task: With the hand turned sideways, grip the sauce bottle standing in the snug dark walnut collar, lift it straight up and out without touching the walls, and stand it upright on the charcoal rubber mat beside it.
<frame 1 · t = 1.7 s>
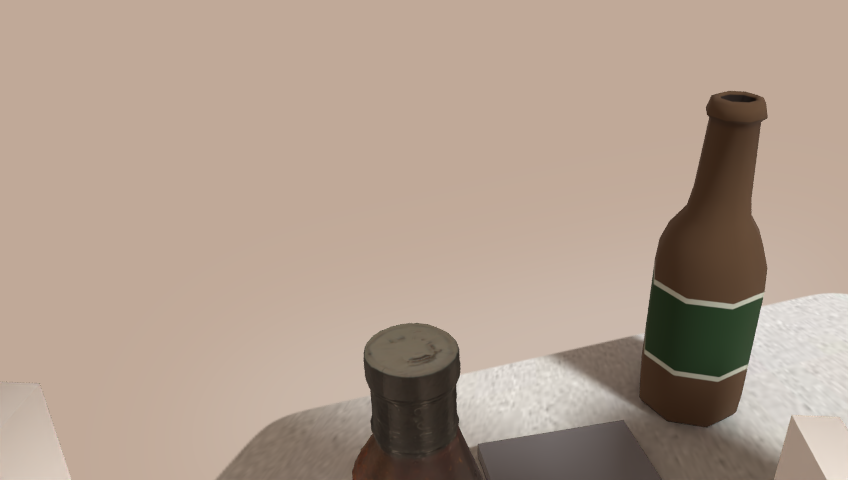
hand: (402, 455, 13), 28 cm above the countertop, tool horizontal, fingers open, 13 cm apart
beer bottle: (685, 397, 57), on the countertop
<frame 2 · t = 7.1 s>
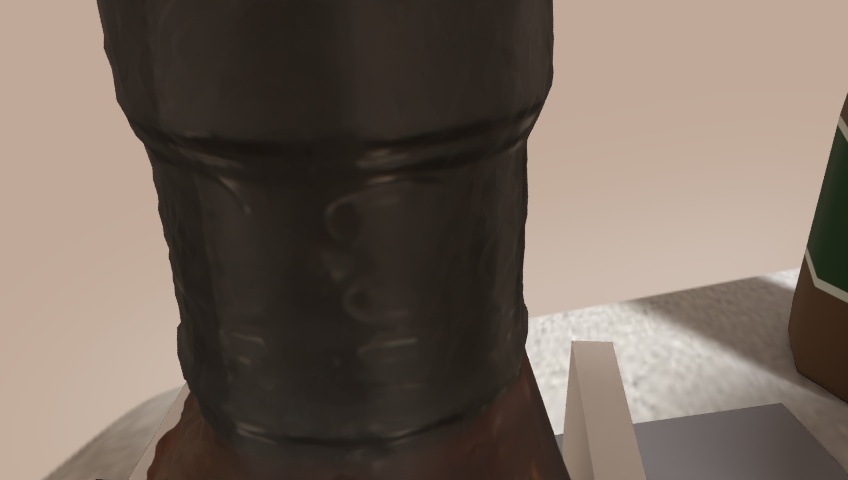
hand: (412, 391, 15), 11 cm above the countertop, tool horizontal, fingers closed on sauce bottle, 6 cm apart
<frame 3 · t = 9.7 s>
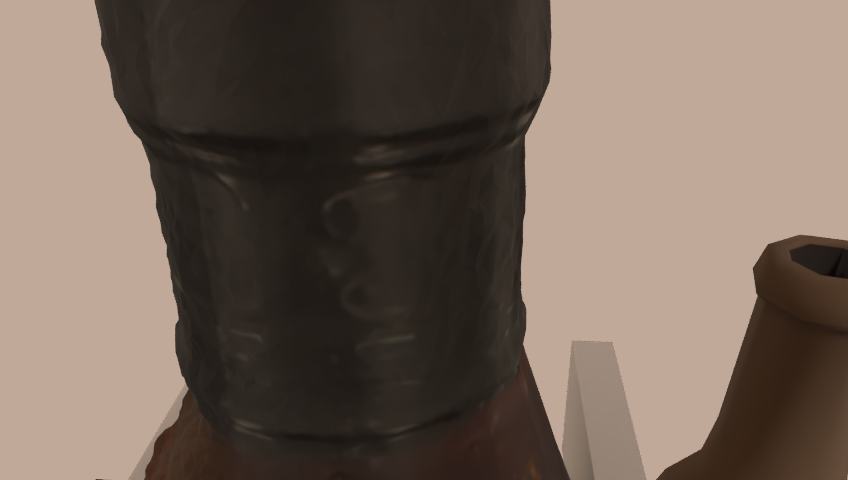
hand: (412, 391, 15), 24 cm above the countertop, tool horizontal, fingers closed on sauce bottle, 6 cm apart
when the fingers open (13 cm above the countertop, at t = 12.5 s): sauce bottle drops 1 cm, resting on rubber mat.
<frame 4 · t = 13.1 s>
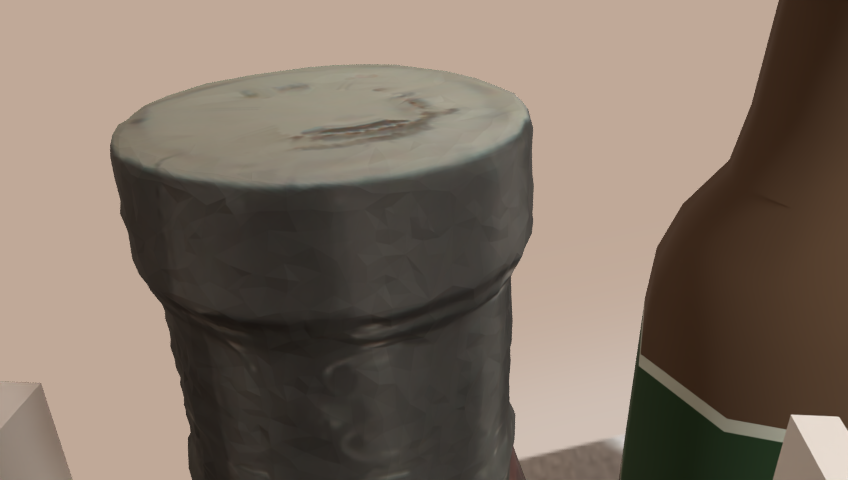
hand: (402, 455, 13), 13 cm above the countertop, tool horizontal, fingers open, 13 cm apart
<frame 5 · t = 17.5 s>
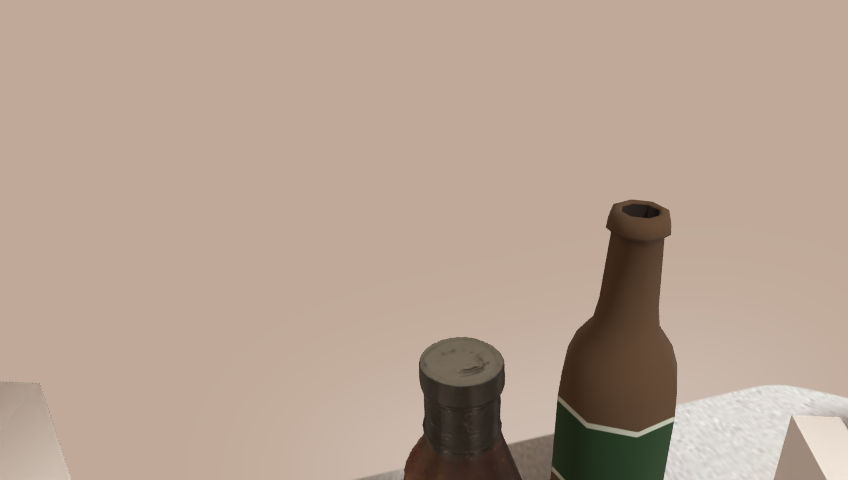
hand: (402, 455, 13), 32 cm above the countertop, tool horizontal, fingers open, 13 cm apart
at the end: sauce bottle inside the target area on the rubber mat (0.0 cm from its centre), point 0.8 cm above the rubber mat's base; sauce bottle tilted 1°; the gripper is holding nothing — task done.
